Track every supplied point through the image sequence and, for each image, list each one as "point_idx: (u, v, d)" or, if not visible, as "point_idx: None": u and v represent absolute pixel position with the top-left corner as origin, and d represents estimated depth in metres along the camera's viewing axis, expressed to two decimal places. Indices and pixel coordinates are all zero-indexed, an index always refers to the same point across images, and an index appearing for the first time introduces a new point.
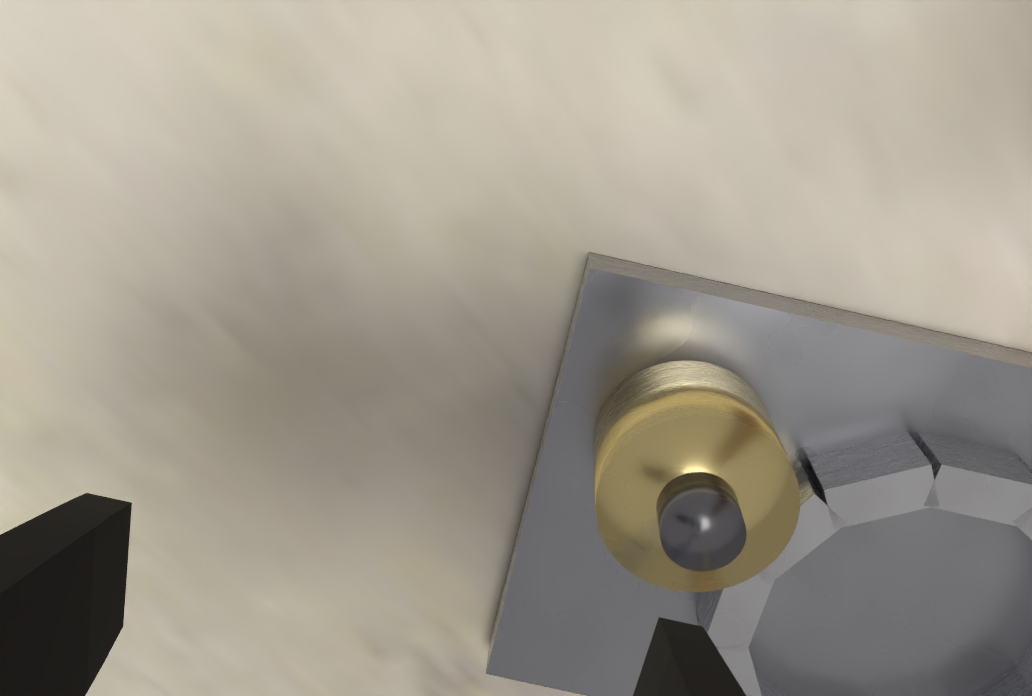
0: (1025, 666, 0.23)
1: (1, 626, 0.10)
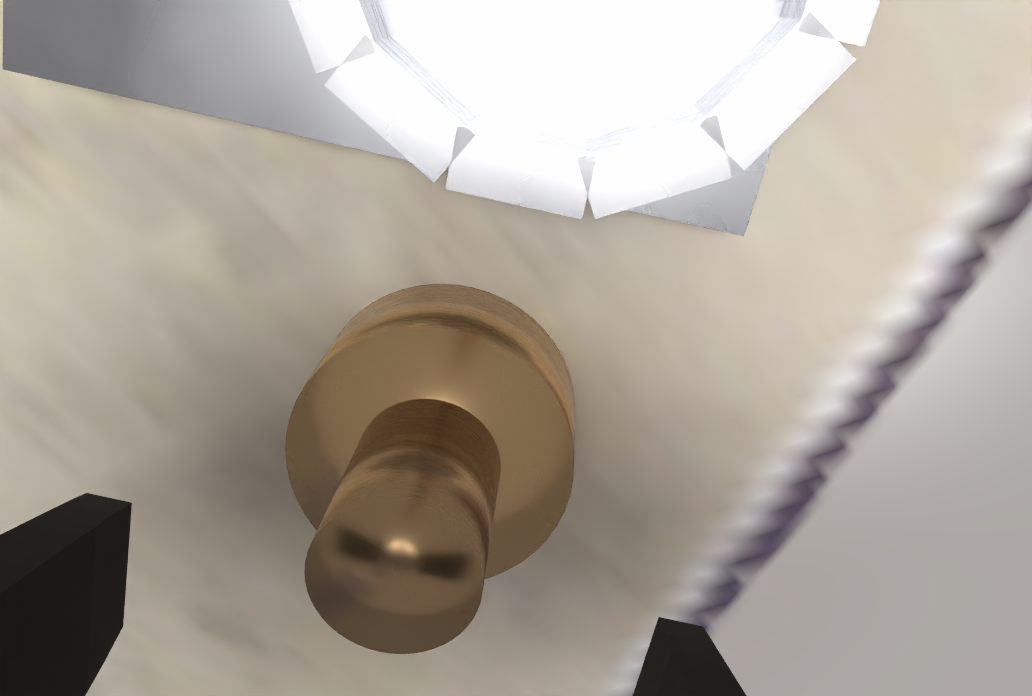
0: (787, 1, 0.15)
1: (1, 626, 0.10)
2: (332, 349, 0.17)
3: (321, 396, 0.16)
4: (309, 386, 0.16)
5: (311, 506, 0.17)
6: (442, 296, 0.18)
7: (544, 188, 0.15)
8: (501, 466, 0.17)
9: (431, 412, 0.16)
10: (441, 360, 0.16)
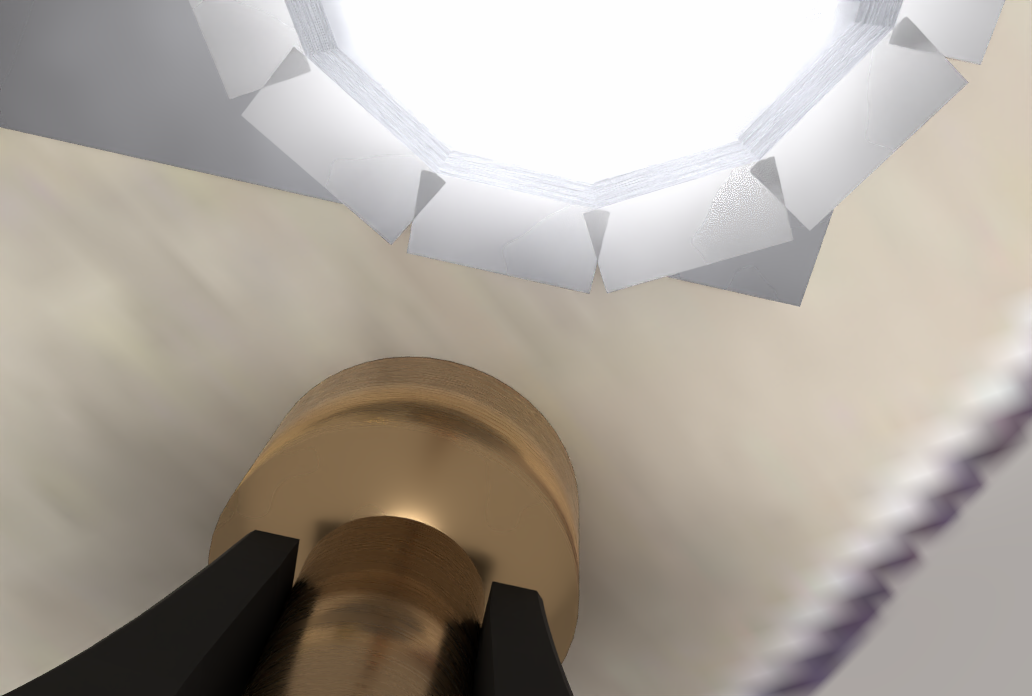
0: (866, 1, 0.11)
1: (214, 671, 0.10)
2: (269, 446, 0.13)
3: (253, 511, 0.13)
4: (236, 498, 0.13)
5: None
6: (412, 375, 0.14)
7: (539, 252, 0.11)
8: (485, 600, 0.13)
9: (393, 538, 0.12)
10: (407, 468, 0.12)
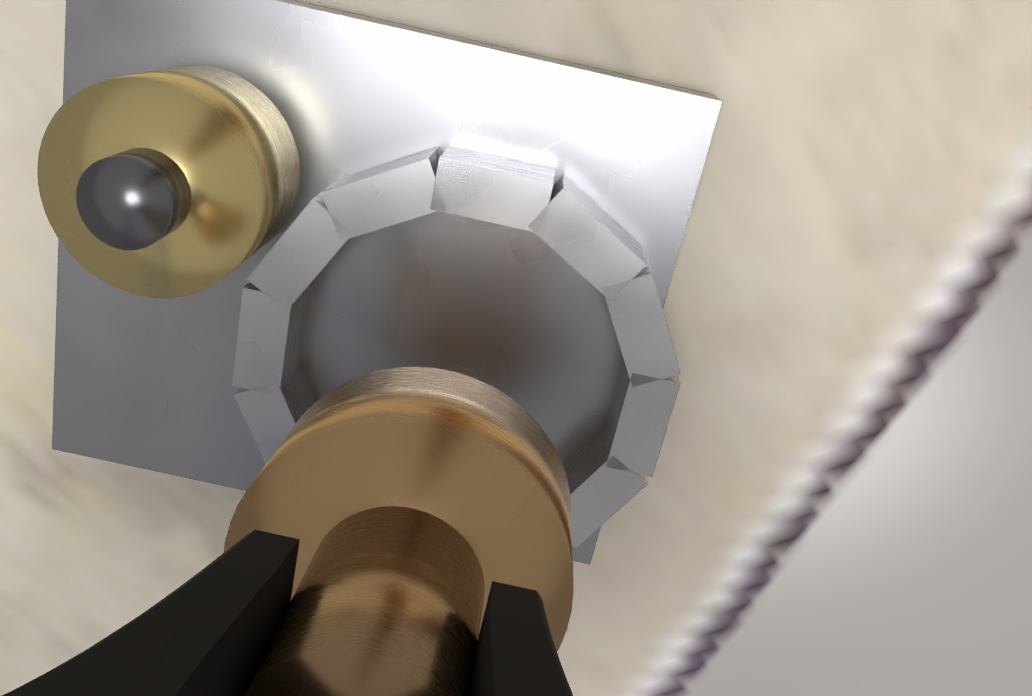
0: (608, 423, 0.21)
1: (214, 671, 0.10)
2: (286, 441, 0.14)
3: (269, 500, 0.14)
4: (255, 487, 0.13)
5: None
6: (420, 381, 0.15)
7: None
8: (485, 591, 0.14)
9: (403, 524, 0.13)
10: (418, 459, 0.13)
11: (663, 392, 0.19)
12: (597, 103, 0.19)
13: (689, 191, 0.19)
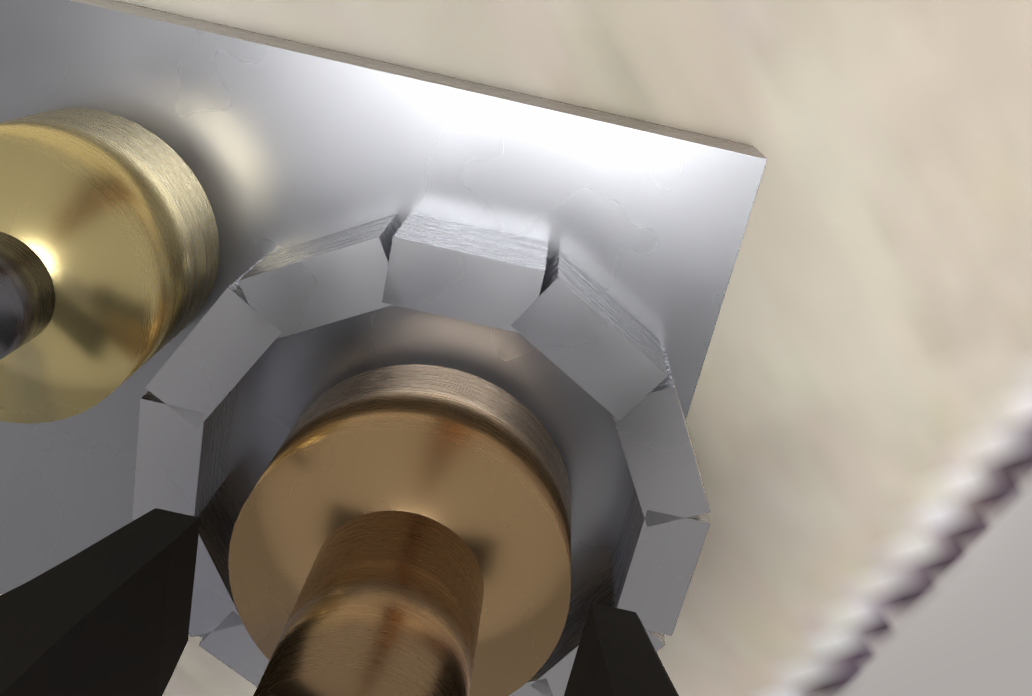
0: (615, 557, 0.16)
1: (88, 644, 0.10)
2: (288, 444, 0.14)
3: (272, 503, 0.14)
4: (258, 491, 0.14)
5: (257, 627, 0.15)
6: (421, 382, 0.15)
7: None
8: (484, 591, 0.14)
9: (402, 531, 0.13)
10: (417, 466, 0.13)
11: (687, 534, 0.15)
12: (604, 160, 0.14)
13: (722, 273, 0.15)
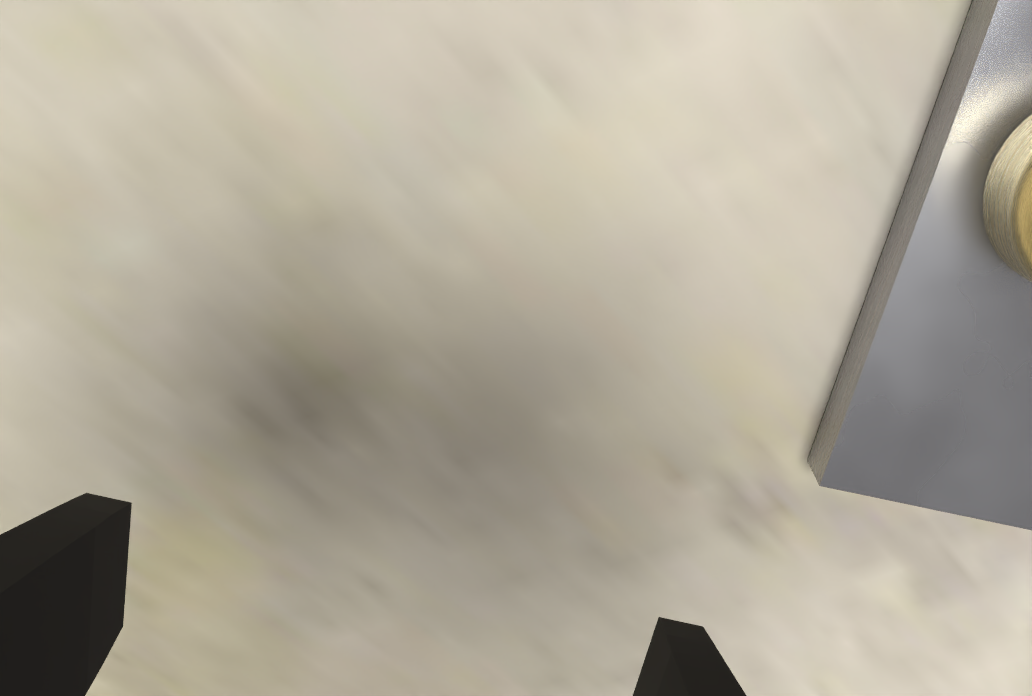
0: None
1: (1, 625, 0.10)
2: None
3: None
4: None
5: None
6: None
7: None
8: None
9: None
10: None
11: None
12: None
13: None
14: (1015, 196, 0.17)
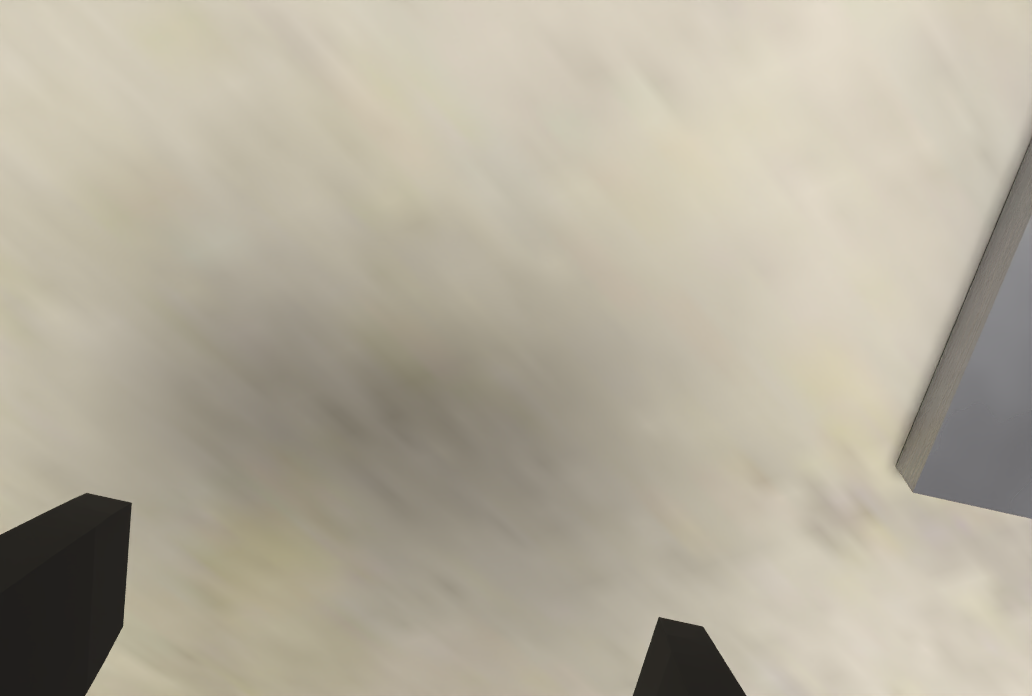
0: None
1: (1, 625, 0.10)
2: None
3: None
4: None
5: None
6: None
7: None
8: None
9: None
10: None
11: None
12: None
13: None
14: None
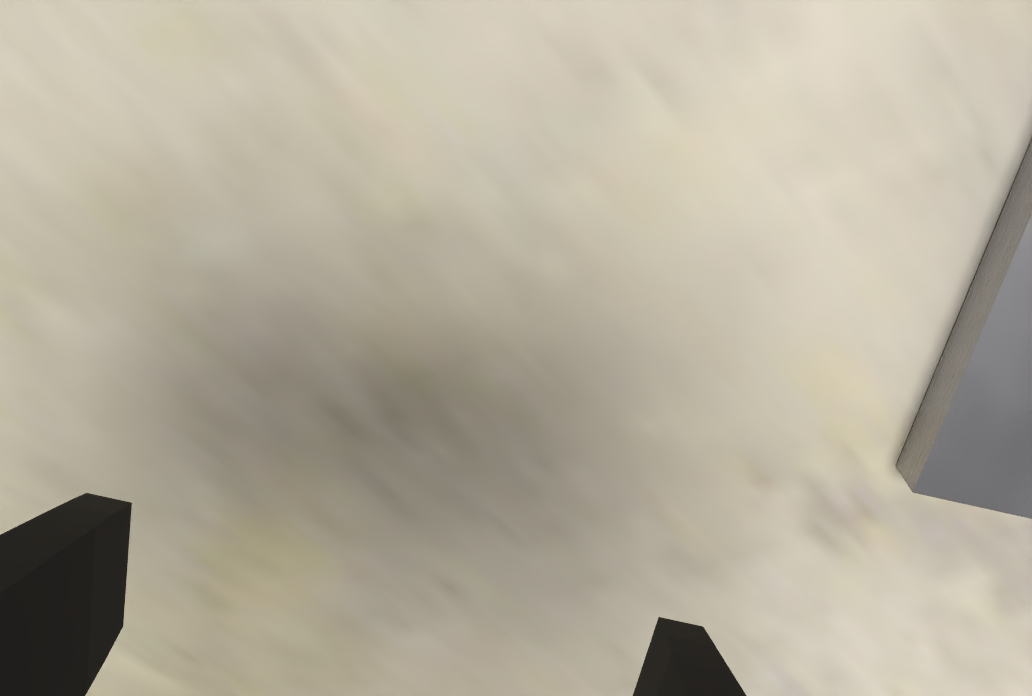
0: None
1: (1, 625, 0.10)
2: None
3: None
4: None
5: None
6: None
7: None
8: None
9: None
10: None
11: None
12: None
13: None
14: None
